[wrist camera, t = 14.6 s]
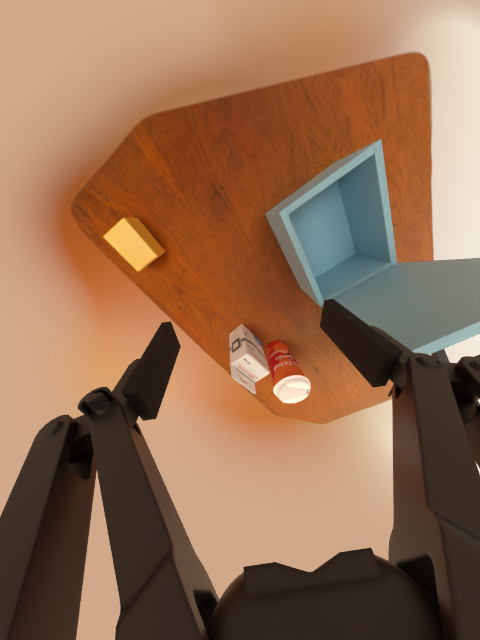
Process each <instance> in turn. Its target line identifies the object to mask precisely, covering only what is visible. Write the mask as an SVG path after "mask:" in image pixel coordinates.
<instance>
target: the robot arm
mask: <svg viewBox="0 0 480 640" xmlns="http://www.w3.org/2000/svg"><path fill="white" fill-rule="evenodd" d="M320 327H321V328H322V330H323V331H324V332H325V333H326V334H327V335H328V336H329V338H330V339H331V340H332V341H333V342H334V343H335V344H336V346H337V347H338V348H339V349H340V350H341V351H342V352H343V354H344V355H345V356H346V357H347V358H348V359H349V360H350V362H351V363H352V364H353V365H354V366H355V367H356V368H357V370H358V371H359V372H360V373H361V374H362V375H363V376H364V378H365V379H366V380H367V381H368V382H369V383H370V384H371V386H372V387H379V386H386V384H387V382H388V380H389V379H390V380H391V381H392V382H393V383H394V385H393V387H392V389H391V390H390V392H389V394H388V396H391V395H392V400H393V401H392V402H393V493H394V494H393V495H394V496H393V497H394V525H393V530H392V533H391V536H390V541H389V561H387V560H385V559H383V558H381V557H378V556H376V555H374V553H373V551H372V549H371V548H367V549H360V550H353V551H346V552H340V553H339V554H337V555H335V556H334V557H333V558H331V559H330V560H328V561H327V562H325V563H324V564H323V565H321V566H320V567H319V568H317V569H316V570H314V571H313V572H306V571H302V570H299V569H296V568H292V567H289V566H286V565H282V564H279V563H276V562H273V563H267V564H260V565H253V566H247V567H244V573H242V574H241V575H239V576H238V577H237V578H236V579H235V580H234V581H233V582H232V583H231V584H230V585H229V587H228V588H227V589H226V590H225V592H224V593H223V595H222V597H221V598H220V600H219V598H218V596H217V594H216V591H215V589H214V587H213V585H212V583H211V580H210V578H209V576H208V574H207V572H206V571H205V569H204V567H203V565H202V563H201V562H200V560H199V559H198V557H197V555H196V553H195V551H194V549H193V547H192V545H191V542H190V540H189V538H188V536H187V533H186V532H185V529H184V527H183V524H182V522H181V520H180V518H179V516H178V513H177V511H176V509H175V506H174V504H173V502H172V500H171V497H170V495H169V493H168V491H167V488H166V486H165V484H164V482H163V480H162V477H161V475H160V473H159V470H158V468H157V466H156V464H155V461H154V459H153V457H152V455H151V452H150V450H149V448H148V446H147V443H146V441H145V439H144V437H143V434H142V432H141V430H140V428H139V425H138V424H137V423H136V421H137V419H138V416H140V417H141V418H142V420H151V419H156V417H157V414H158V411H159V408H160V405H161V402H162V399H163V397H164V394H165V391H166V388H167V385H168V382H169V379H170V376H171V373H172V370H173V367H174V364H175V361H176V358H177V355H178V352H179V349H180V344H179V341H178V339H177V336H176V334H175V331H174V329H173V326H172V323H171V322H164V323H162V324H161V325H160V327H159V328H158V330H157V332H156V333H155V335H154V337H153V338H152V340H151V342H150V344H149V345H148V347H147V348H146V350H145V352H144V354H143V355H142V357H141V359H136V360H135V361H133V362H132V363H131V364H130V365H129V366H128V368H127V369H126V371H125V373H124V374H123V376H122V378H121V379H120V380H119V382H118V384H117V385H116V386H115V388H114V390H113V391H112V392H111V391H110V390H109V389H108V388H107V387H100V388H97V389H95V390H93V391H91V392H90V393H88V394H87V395H86V396H85V397H83V398H82V400H81V401H80V403H79V404H78V409H79V410H80V411H81V412H82V413H84V415H82V416H80V417H77V418H75V419H73V418H71V417H70V416H69V415H62V416H59V417H57V418H55V419H53V420H51V421H50V422H49V423H47V424H46V425H45V426H44V427H43V428H42V429H41V430H40V431H39V432H38V434H37V435H36V437H35V439H34V441H33V444H32V446H31V448H30V450H29V453H28V455H27V457H26V460H25V462H24V464H23V466H22V469H21V471H20V473H19V476H18V478H17V480H16V482H15V485H14V487H13V489H12V492H11V494H10V496H9V498H8V501H7V503H6V505H5V507H4V510H3V512H2V514H1V517H0V640H76V634H77V626H78V618H79V610H80V601H81V593H82V585H83V577H84V568H85V560H86V552H87V544H88V536H89V527H90V520H91V511H92V502H93V495H94V487H95V479H96V470H97V472H98V478H99V484H100V489H101V495H102V501H103V506H104V512H105V517H106V523H107V529H108V535H109V540H110V546H111V551H112V557H113V563H114V569H115V574H116V580H117V585H118V591H119V597H120V605H121V610H120V616H119V620H118V623H117V626H116V635H115V636H116V637H115V640H480V475H479V471H478V468H477V465H476V463H477V464H478V466H479V468H480V404H479V402H478V401H477V400H478V399H480V358H476V357H467V356H465V357H462V358H461V359H460V360H459V362H458V363H447V362H441V361H440V360H439V359H437V358H435V357H433V356H431V355H428V354H424V353H414V352H413V351H411V350H410V349H408V348H407V347H406V346H404V345H403V344H401V343H400V342H399V341H397V340H396V339H393V337H392V336H390V335H388V334H387V333H386V332H385V331H383V330H382V329H380V328H377V327H375V326H373V325H371V326H369V325H368V324H366V323H365V322H364V321H362V320H361V319H360V318H358V317H357V316H356V315H354V314H353V313H352V312H350V311H349V310H348V309H346V308H345V307H344V306H342V305H341V304H340V303H338V302H337V301H336V300H334V299H327V300H324V304H323V310H322V317H321V323H320ZM475 461H476V462H475Z"/></svg>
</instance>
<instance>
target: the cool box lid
mask: <svg viewBox="0 0 480 640" xmlns="http://www.w3.org/2000/svg"><path fill="white" fill-rule="evenodd" d="M334 300H336V301H337V302H338V303H340V304H341V305H342V306H344V307H345V308H346V309H348V310H349V311H350V312H352V313H353V314H354V315H356V316H357V317H358V318H360V319H361V320H362V321H364V322H365V323H366V324H368V325H369V326H371V325H373V326H375V327H377V328H380V329H382V330H383V331H385V332H386V333H387V334H388V335H390V336H392V337H393V339H396V340H397V341H399V342H400V343H401V344H403V345H404V346H406V347H407V348H408V349H410V350H411V351H413V352H414V353H424V354H428V355H430V354H431V355H432V356H433V357H435V358H437V359H439V360H440V361H441V362H447V363H450V362H449V360H448V357H447V355H446V353H445V350H444V348H446V347H449V346H451V345H454V344H456V343H458V342H461V341H463V340H465V339H468V338H470V337H473V336H475V335H477V334H480V258H473V259H456V260H438V261H421V262H404V263H398V264H396V265H394V266H393V267H391V268H389V269H387V270H385V271H384V272H382V273H380V274H378V275H376V276H375V277H373V278H371V279H369V280H367V281H365V282H364V283H362V284H360V285H358V286H356V287H355V288H353V289H351V290H349V291H347V292H345V293H344V294H342V295H340V296H338V297H336V298H335V299H334ZM321 307H322V309H323V305H322V306H321ZM475 357H476V358H480V355H478V356H475Z"/></svg>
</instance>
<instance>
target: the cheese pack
mask: <svg viewBox="0 0 480 640" xmlns="http://www.w3.org/2000/svg"><path fill="white" fill-rule="evenodd" d="M103 237H104V238H105V239H106V240H107V241H108V242H109V243H110V244H111V245H112V246H113V247H114V248H115V249H116V250H117V251H118V252H119V253H120V254H121V255H122V256H123V257H124V258H125V259H126V260H127V262H128V263H129V264H130V265H131V266H132V267H133V268H134V269H135V270H136V271H137V272H139V271H140V270H142V269H144V268H145V267H147V266H148V265H150V264H151V263H152V262H153V261H155V260H156V259H157V258H158V257H160V256H161V255H162V254H163V253H165V252H166V251H165V250H164V249H163V248H162V246H161V245H160V244H159V243H158V242H157V240H156V239H155V238H154V237H153V236H152V235H151V233H150V232H149V231H148V230H147V229H146V227H145V226H144V225H143V224H142V223H141V222H140V220H139V219H138V218H122V219H121V220H120V221H119V222H118V223H117V224H116V225H115V226H114V227H113V228H112V229H111V230H110V231H109V232H107V233H106V234H105V235H104V236H103Z"/></svg>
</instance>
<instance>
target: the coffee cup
mask: <svg viewBox="0 0 480 640" xmlns="http://www.w3.org/2000/svg"><path fill="white" fill-rule="evenodd" d="M266 351H267V356H268V361H269V365H270V369H271V374H272V378H273V382H274V389H273V391H274V394H275V395H276V396H277V397H278V398H279V399H280V400H281V401H282V402H285V403H296V402H299V401H301V400H303V399H305V398H306V397H307V396H308V394H309V391H310V381H309V380H308V378H306V377H305V376H304V374H303V372H302V370H301V369H300V367H299V365H298V364H297V362H296V360H295V359H294V357H293V355H292V354H291V352H290V350H289V349H288V347H287V345H286V344H285V343H284V342H283V341H279V340H277V341H273V342H271V343H270V344H269V345H268V346H267V349H266Z"/></svg>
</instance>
